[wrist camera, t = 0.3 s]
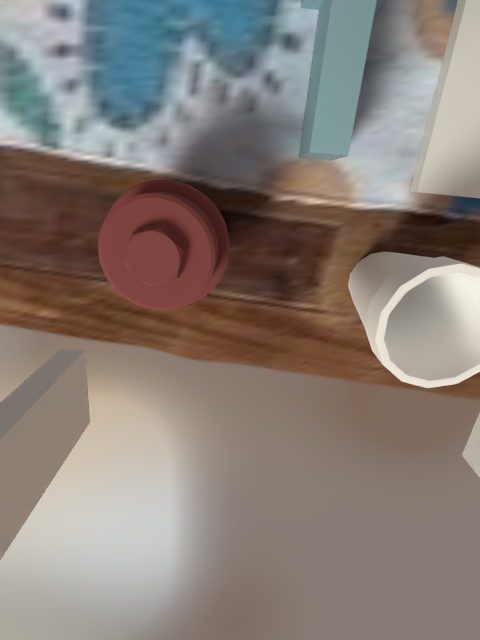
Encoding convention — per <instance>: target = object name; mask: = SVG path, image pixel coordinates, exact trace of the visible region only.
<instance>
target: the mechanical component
mask: <svg viewBox="0 0 480 640" xmlns="http://www.w3.org/2000/svg"><path fill="white" fill-rule="evenodd" d="M229 248H230V243H229V234H228V230H227V226H226V224H225V221H224V219H223V217H222V215H221V213H220V211H219V210H218V208H217V207H216V206H215V204H214V203H213V202H212V201H211V200H210V199H209V198H208V197H207V196H206V195H204V194H203V193H202V192H200V191H199V190H197V189H195V188H194V187H192V186H190V185H187V184H184V183H182V182H177V181H171V180H154V181H148V182H144V183H141V184H138V185H136V186H134V187H132V188H130V189H129V190H127V191H126V192H125V193H124V194H122V195H121V196H120V197H119V198H118V200H117V201H116V202H115V203H114V205H113V206H112V208H111V209H110V211H109V214H108V216H107V217H106V219H105V221H104V223H103V225H102V227H101V230H100V235H99V240H98V252H99V259H100V263H101V266H102V269H103V271H104V274H105V276H106V277H107V279H108V280H109V282H110V283H111V285H112V286H113V287H114V288H115V290H116V291H117V292H119V293H120V294H121V295H122V296H123V297H124V298H126V299H127V300H129V301H130V302H132V303H134V304H136V305H138V306H141V307H144V308H148V309H153V310H171V309H176V308H179V307H182V306H184V305H188V304H191V303H194V302H196V301H198V300H200V299H201V298H203V297H205V296H206V295H207V294H208V293H210V292H211V291H212V290H213V289H214V288H215V286H216V285H217V284H218V283H219V281H220V279H221V278H222V276H223V274H224V271H225V269H226V266H227V262H228V257H229Z"/></svg>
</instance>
